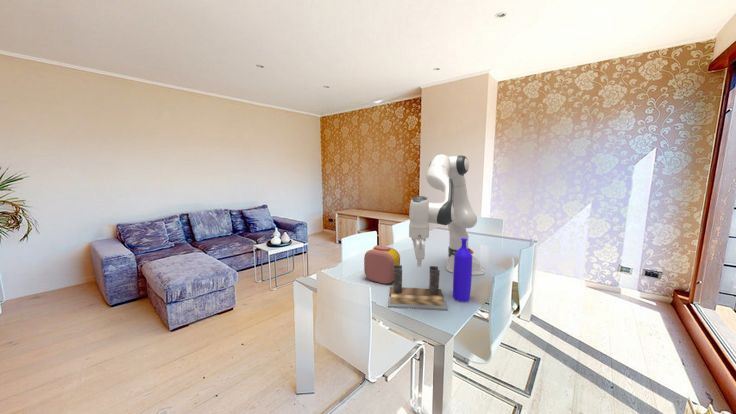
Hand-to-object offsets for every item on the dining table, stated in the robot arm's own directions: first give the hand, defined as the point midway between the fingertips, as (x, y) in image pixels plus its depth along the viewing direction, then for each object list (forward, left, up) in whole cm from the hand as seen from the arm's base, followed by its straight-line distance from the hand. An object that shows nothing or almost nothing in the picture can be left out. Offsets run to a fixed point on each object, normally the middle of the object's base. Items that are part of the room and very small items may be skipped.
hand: (418, 262), depth 125 cm
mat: (0, 0, -21) cm, 21 cm away
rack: (0, -11, -21) cm, 23 cm away
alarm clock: (+18, -27, -21) cm, 38 cm away
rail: (0, 0, -20) cm, 20 cm away
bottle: (-22, -9, -21) cm, 31 cm away
